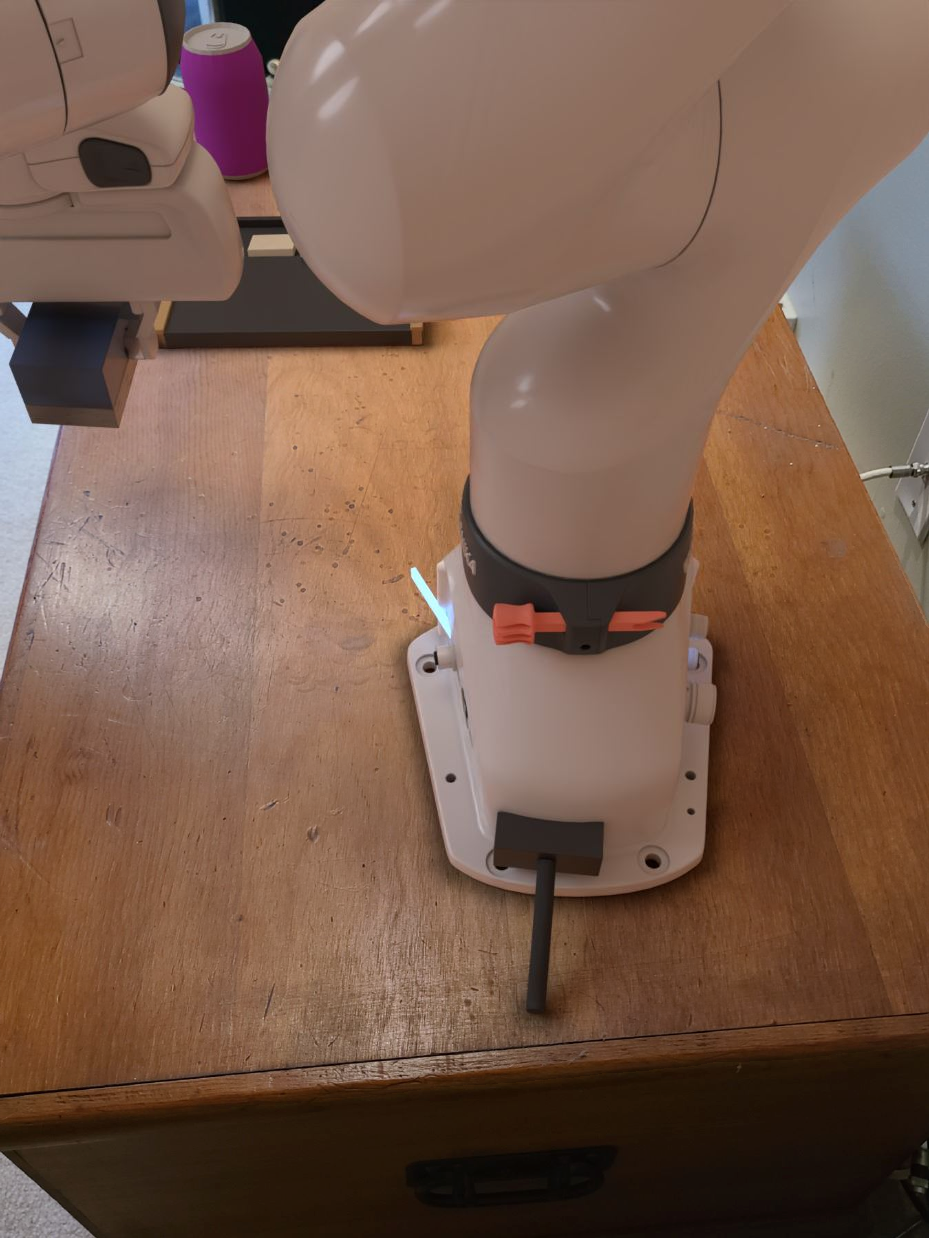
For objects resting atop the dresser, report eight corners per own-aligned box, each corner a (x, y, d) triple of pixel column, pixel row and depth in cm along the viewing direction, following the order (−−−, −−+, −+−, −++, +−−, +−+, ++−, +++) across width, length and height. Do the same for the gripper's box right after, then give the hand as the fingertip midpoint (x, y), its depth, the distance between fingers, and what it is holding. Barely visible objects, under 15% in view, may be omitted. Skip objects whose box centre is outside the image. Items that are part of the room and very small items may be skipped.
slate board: (423, 345, 81) (422, 326, 80) (156, 348, 81) (150, 330, 80) (425, 269, 88) (424, 251, 86) (179, 272, 88) (174, 254, 86)
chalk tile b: (294, 257, 87) (293, 248, 87) (248, 258, 87) (247, 249, 86) (298, 242, 90) (296, 233, 90) (254, 243, 90) (252, 235, 90)
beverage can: (209, 146, 102) (182, 19, 93) (283, 145, 102) (263, 18, 92) (196, 184, 97) (166, 54, 88) (273, 184, 97) (252, 54, 88)
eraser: (150, 317, 63) (136, 256, 59) (119, 429, 58) (101, 369, 54) (70, 312, 63) (52, 251, 59) (31, 424, 57) (8, 364, 54)
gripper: (-233, 157, 46) (-99, 390, 57) (202, 153, 47) (252, 386, 58) (-181, 94, 50) (-65, 323, 61) (220, 91, 50) (264, 321, 61)
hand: (92, 354), depth 59 cm, fingers closed on eraser, 5 cm apart
